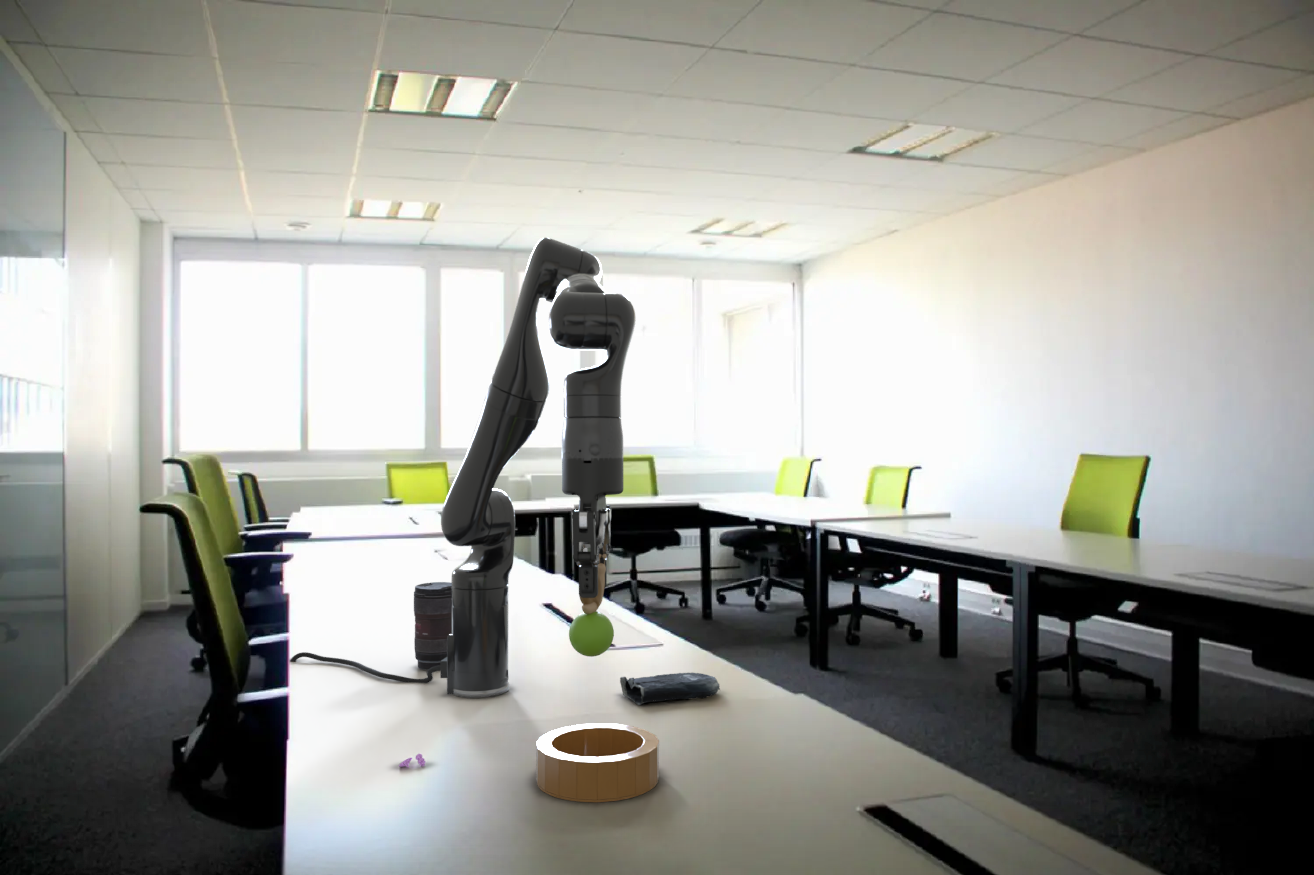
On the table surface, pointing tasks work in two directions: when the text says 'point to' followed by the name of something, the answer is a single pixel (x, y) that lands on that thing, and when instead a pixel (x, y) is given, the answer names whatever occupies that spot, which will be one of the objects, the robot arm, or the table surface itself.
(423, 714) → the table surface
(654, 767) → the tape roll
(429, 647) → the camera lens
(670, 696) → the dark blue pouch
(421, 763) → the earpods
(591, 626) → the snail figurine
